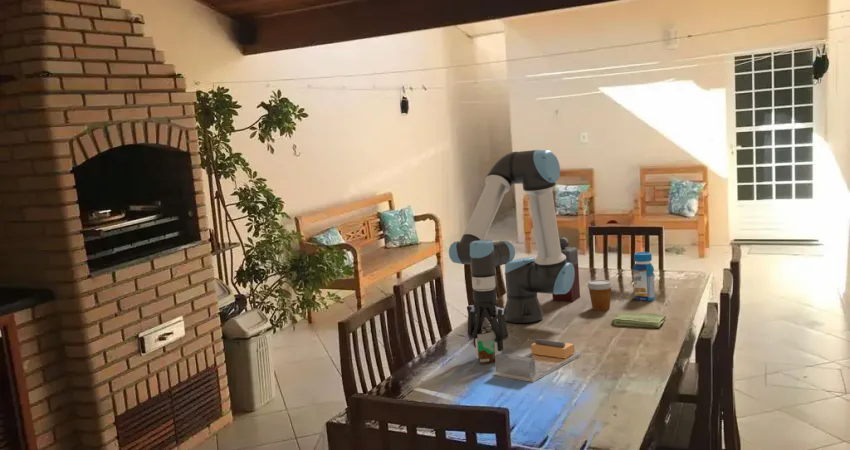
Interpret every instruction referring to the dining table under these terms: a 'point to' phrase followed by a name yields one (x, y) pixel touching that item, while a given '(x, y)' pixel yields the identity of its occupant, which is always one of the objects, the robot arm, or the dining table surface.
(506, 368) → the vise
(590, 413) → the dining table surface
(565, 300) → the toy vending machine
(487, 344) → the food container
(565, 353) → the block
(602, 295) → the disposable coffee cup
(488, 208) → the robot arm
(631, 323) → the washcloth
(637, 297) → the beverage bottle
